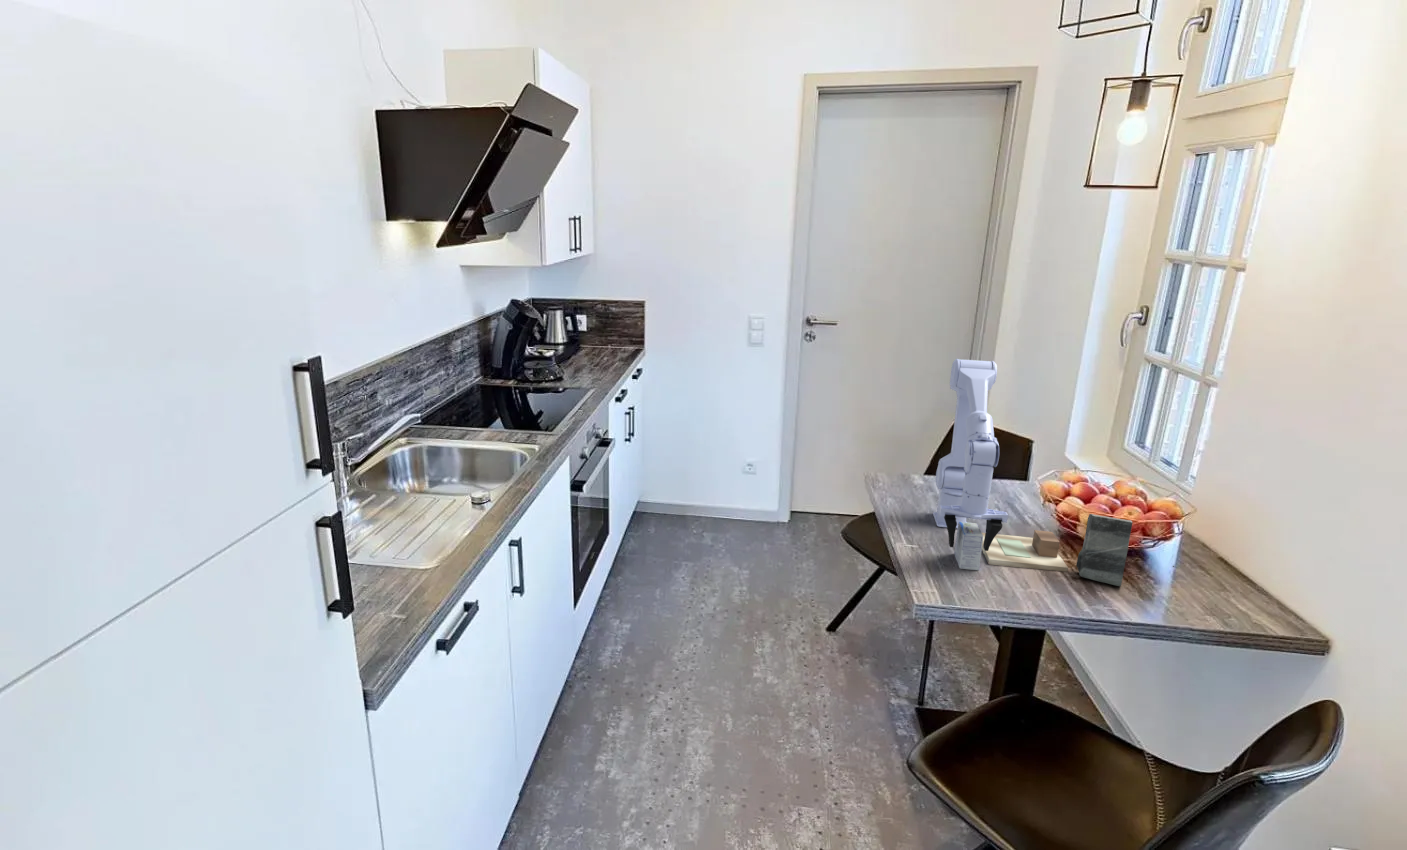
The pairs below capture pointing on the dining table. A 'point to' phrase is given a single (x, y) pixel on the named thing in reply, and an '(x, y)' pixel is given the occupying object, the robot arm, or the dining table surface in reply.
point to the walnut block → (1045, 543)
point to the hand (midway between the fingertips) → (968, 547)
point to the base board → (1019, 554)
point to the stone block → (1104, 549)
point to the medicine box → (968, 546)
